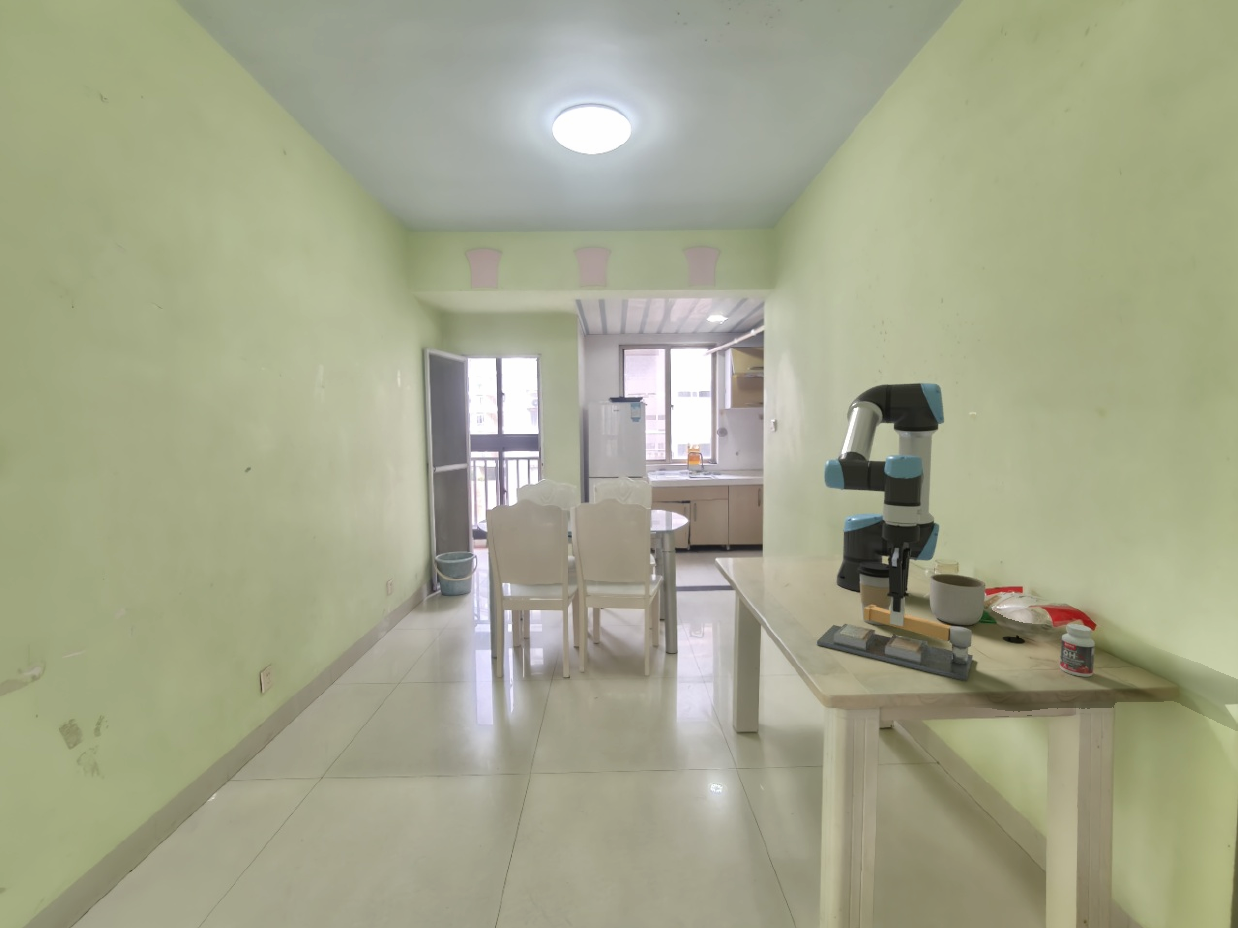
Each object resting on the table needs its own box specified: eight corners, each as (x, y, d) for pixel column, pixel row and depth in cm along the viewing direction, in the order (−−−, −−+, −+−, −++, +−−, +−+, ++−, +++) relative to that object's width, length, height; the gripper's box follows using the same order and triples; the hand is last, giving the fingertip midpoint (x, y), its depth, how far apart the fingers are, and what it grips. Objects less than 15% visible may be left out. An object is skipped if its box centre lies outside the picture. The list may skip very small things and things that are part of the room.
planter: (954, 630, 139) (956, 588, 138) (918, 613, 151) (919, 575, 150) (995, 626, 141) (997, 585, 140) (956, 610, 153) (958, 572, 153)
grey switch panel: (833, 628, 140) (833, 610, 139) (972, 659, 121) (973, 639, 121) (817, 644, 129) (817, 625, 129) (966, 681, 111) (967, 658, 111)
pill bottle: (1059, 672, 115) (1062, 627, 115) (1060, 663, 119) (1062, 620, 119) (1093, 680, 112) (1096, 633, 111) (1092, 671, 116) (1095, 626, 115)
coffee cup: (898, 628, 140) (901, 571, 139) (859, 625, 142) (861, 569, 141) (888, 616, 149) (890, 562, 148) (851, 613, 151) (853, 560, 150)
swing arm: (973, 643, 118) (974, 630, 117) (967, 648, 115) (968, 634, 115) (871, 616, 135) (871, 604, 134) (863, 619, 132) (864, 607, 132)
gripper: (914, 529, 117) (909, 636, 119) (924, 521, 127) (920, 620, 129) (876, 525, 122) (872, 628, 123) (889, 517, 132) (885, 613, 133)
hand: (896, 624), depth 126 cm, fingers closed
